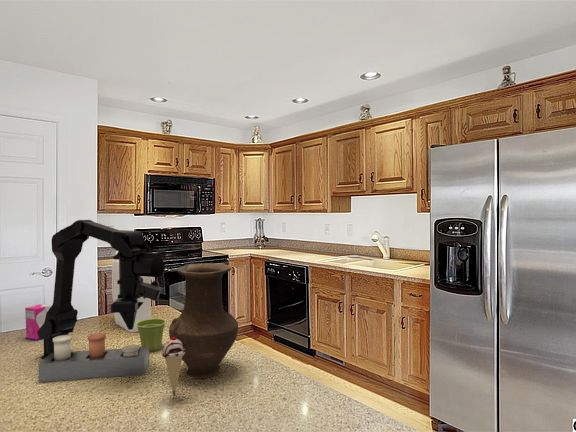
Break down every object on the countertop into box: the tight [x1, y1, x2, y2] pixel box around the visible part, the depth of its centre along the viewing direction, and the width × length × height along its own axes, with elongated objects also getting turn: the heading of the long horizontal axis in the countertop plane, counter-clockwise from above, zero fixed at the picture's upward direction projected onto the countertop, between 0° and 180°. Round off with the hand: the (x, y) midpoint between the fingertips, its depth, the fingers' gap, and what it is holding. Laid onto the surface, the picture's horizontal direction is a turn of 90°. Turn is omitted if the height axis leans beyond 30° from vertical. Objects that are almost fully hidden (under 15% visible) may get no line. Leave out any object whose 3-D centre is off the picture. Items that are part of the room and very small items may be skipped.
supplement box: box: [24, 303, 51, 342], centre depth 140 cm, size 6×6×12 cm
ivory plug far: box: [121, 344, 140, 356], centre depth 111 cm, size 5×5×6 cm
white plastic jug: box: [111, 250, 154, 333], centre depth 153 cm, size 27×11×30 cm, turn 43°
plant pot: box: [136, 318, 167, 352], centre depth 129 cm, size 9×9×9 cm
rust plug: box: [87, 332, 107, 358], centre depth 110 cm, size 5×5×6 cm
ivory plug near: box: [53, 334, 73, 361], centre depth 108 cm, size 5×5×6 cm
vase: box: [168, 263, 239, 379], centre depth 110 cm, size 19×19×30 cm
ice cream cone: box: [161, 337, 186, 397], centre depth 95 cm, size 6×6×15 cm
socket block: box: [37, 346, 150, 383], centre depth 110 cm, size 27×8×5 cm, turn 100°
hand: (130, 329), depth 111 cm, fingers closed
